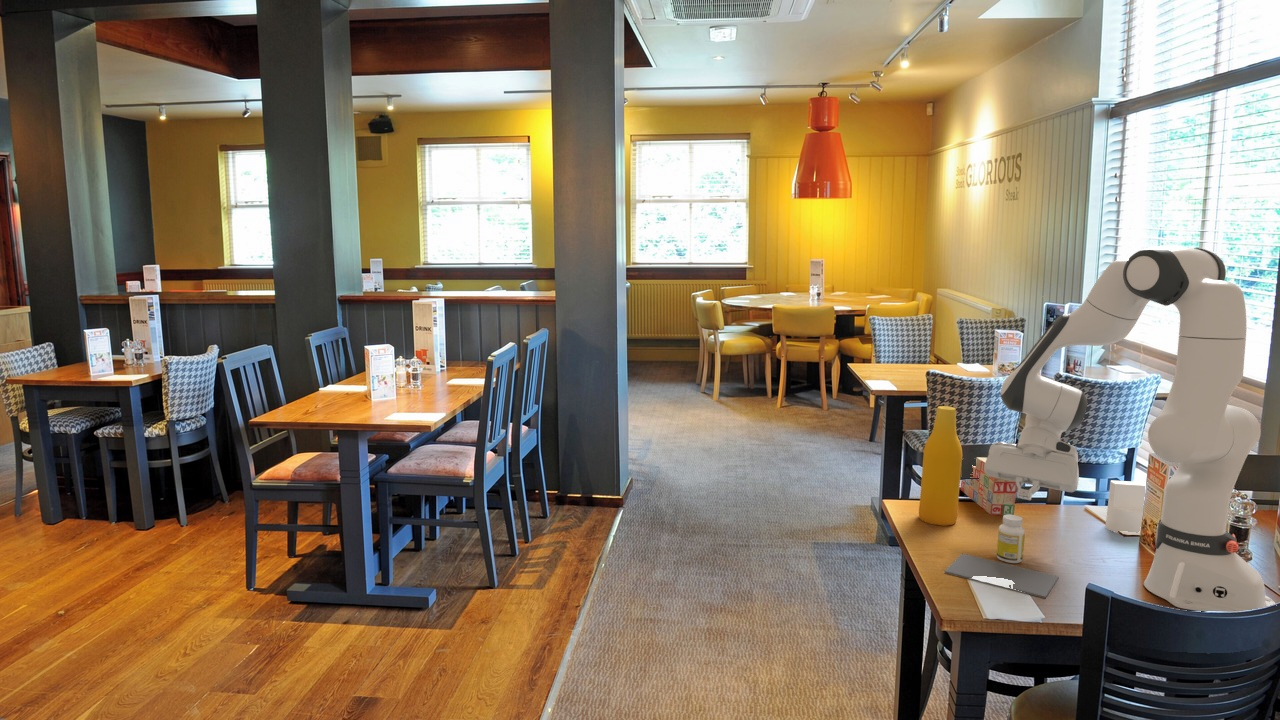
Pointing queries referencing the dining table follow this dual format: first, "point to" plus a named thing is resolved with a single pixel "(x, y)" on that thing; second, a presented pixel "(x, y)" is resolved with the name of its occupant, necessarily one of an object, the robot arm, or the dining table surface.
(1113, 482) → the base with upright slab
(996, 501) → the stack of blocks
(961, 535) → the dining table surface
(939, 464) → the yellow bottle
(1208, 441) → the robot arm
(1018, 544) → the supplement bottle
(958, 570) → the charcoal mat
